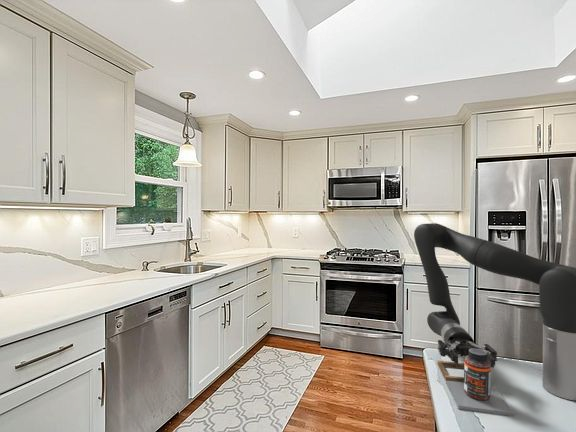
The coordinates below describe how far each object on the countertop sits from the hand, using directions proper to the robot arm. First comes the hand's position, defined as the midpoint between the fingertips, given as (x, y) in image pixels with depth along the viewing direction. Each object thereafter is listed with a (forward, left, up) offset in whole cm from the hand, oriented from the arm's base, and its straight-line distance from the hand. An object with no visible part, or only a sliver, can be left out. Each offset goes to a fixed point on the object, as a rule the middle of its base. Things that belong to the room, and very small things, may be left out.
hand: (474, 361), depth 84 cm
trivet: (0, +2, -8) cm, 9 cm away
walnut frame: (+1, -10, -8) cm, 13 cm away
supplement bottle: (0, +2, -8) cm, 8 cm away
